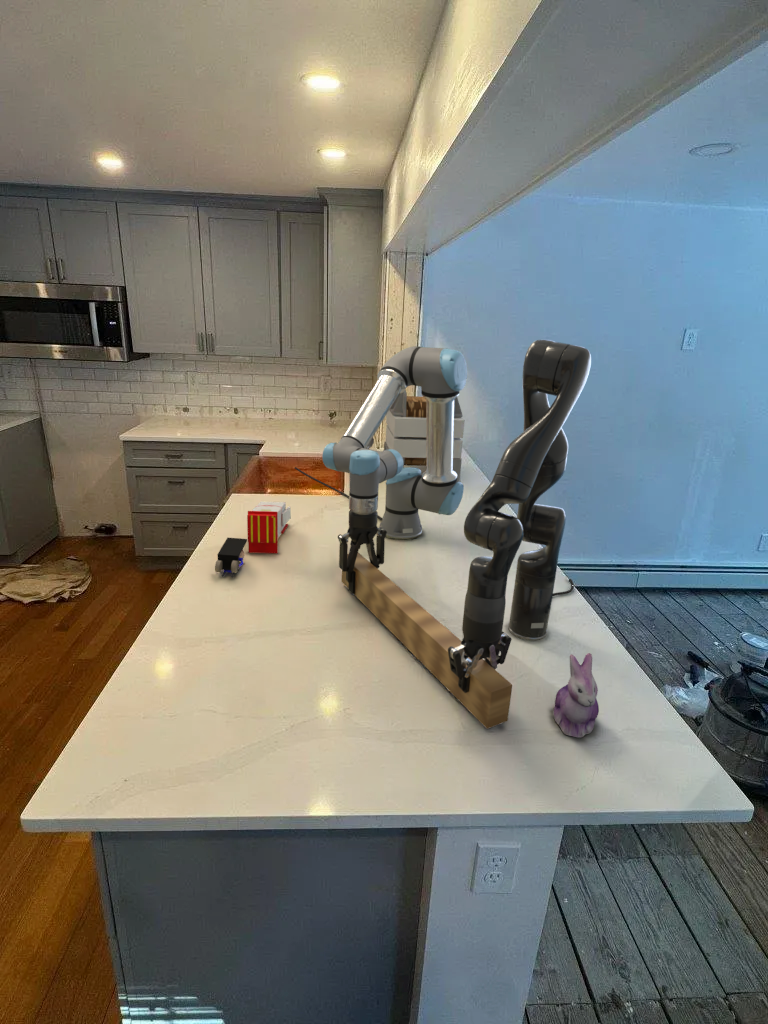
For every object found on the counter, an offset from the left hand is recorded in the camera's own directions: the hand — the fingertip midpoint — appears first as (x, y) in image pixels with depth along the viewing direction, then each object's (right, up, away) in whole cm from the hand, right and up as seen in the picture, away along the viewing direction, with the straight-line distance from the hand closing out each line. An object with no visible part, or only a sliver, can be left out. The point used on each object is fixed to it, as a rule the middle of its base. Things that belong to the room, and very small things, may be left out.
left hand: (361, 589), depth 155 cm
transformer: (+23, +40, +120) cm, 128 cm away
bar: (+12, -9, -21) cm, 26 cm away
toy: (-33, +13, +37) cm, 51 cm away
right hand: (+24, -13, -43) cm, 51 cm away
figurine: (+44, -20, -45) cm, 66 cm away
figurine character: (-39, +4, +12) cm, 41 cm away
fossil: (-6, +52, +148) cm, 157 cm away
